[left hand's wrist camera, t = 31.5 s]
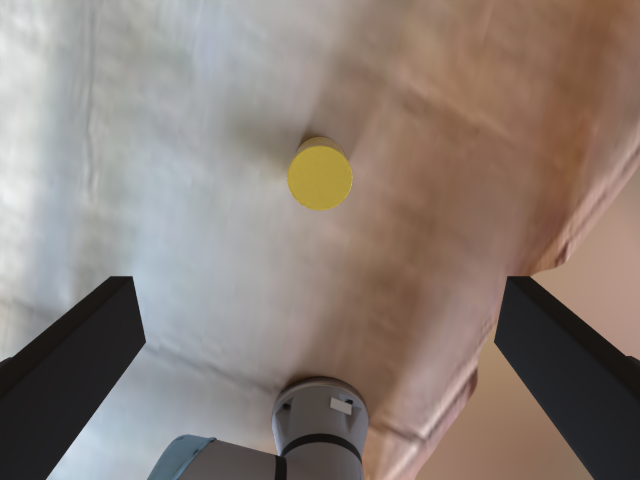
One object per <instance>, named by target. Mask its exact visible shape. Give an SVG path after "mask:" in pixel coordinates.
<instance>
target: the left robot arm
mask: <svg viewBox="0 0 640 480" xmlns="http://www.w3.org/2000/svg"><path fill="white" fill-rule="evenodd" d="M145 343H146V339H145V335H144V330H143V325H142V320H141V315H140V310H139V306H138V301H137V296H136V291H135V286H134V281H133V276H110V277H109V278H108V279H107V280H106V281H104V282H103V283H102V284H101V285H99V286H98V287H97V288H96V289H95V290H93V291H92V292H91V293H90V294H89V295H87V296H86V297H85V298H84V299H83V300H81V301H80V302H79V303H78V304H76V305H75V306H74V307H73V308H72V309H70V310H69V311H68V312H67V313H66V314H64V315H63V316H62V317H61V318H60V319H58V320H57V321H56V322H55V323H53V324H52V325H51V326H50V327H49V328H47V329H46V330H45V331H44V332H43V333H41V334H40V335H39V336H38V337H37V338H35V339H34V340H33V341H32V342H30V343H29V344H28V345H27V346H26V347H24V348H23V349H22V350H21V351H20V352H18V353H17V354H16V355H15V356H14V357H9V358H7V359H5V360H3V361H2V362H0V480H46V479H47V477H48V476H49V474H50V473H51V472H52V470H53V469H54V468H55V466H56V465H57V463H58V462H59V461H60V459H61V458H62V457H63V455H64V454H65V452H66V451H67V450H68V448H69V447H70V446H71V444H72V443H73V442H74V440H75V439H76V437H77V436H78V435H79V433H80V432H81V431H82V429H83V428H84V426H85V425H86V424H87V422H88V421H89V420H90V418H91V417H92V415H93V414H94V413H95V411H96V410H97V409H98V407H99V406H100V404H101V403H102V402H103V400H104V399H105V398H106V396H107V395H108V393H109V392H110V391H111V389H112V388H113V387H114V385H115V384H116V383H117V381H118V380H119V378H120V377H121V376H122V374H123V373H124V372H125V370H126V369H127V367H128V366H129V365H130V363H131V362H132V361H133V359H134V358H135V356H136V355H137V354H138V352H139V351H140V350H141V348H142V347H143V345H144V344H145ZM494 343H495V344H496V345H497V347H498V348H499V350H500V351H501V352H502V354H503V355H504V356H505V358H506V359H507V360H508V362H509V363H510V365H511V366H512V367H513V369H514V370H515V372H516V373H517V374H518V376H519V377H520V378H521V380H522V381H523V383H524V384H525V385H526V387H527V388H528V389H529V391H530V392H531V394H532V395H533V396H534V398H535V399H536V400H537V402H538V403H539V404H540V406H541V407H542V409H543V410H544V411H545V413H546V414H547V415H548V417H549V418H550V420H551V421H552V422H553V424H554V425H555V426H556V428H557V429H558V430H559V432H560V433H561V435H562V436H563V437H564V439H565V440H566V442H567V443H568V444H569V446H570V447H571V448H572V450H573V451H574V452H575V454H576V455H577V457H578V458H579V459H580V461H581V462H582V463H583V465H584V466H585V468H586V469H587V470H588V472H589V473H590V474H591V476H592V477H593V479H594V480H640V361H639V360H638V359H636V358H634V357H632V356H625V355H624V354H623V353H622V352H620V351H619V350H618V349H617V348H616V347H614V346H613V345H612V344H611V343H610V342H608V341H607V340H606V339H605V338H603V337H602V336H601V335H600V334H599V333H597V332H596V331H595V330H594V329H593V328H591V327H590V326H589V325H588V324H586V323H585V322H584V321H583V320H582V319H580V318H579V317H578V316H577V315H576V314H574V313H573V312H572V311H571V310H570V309H568V308H567V307H566V306H565V305H564V304H562V303H561V302H560V301H559V300H557V299H556V298H555V297H554V296H553V295H551V294H550V293H549V292H548V291H547V290H545V289H544V288H543V287H542V286H541V285H539V284H538V283H537V282H536V281H534V280H533V279H532V278H531V277H530V276H507V281H506V286H505V291H504V296H503V301H502V306H501V310H500V315H499V320H498V325H497V330H496V335H495V339H494ZM368 425H369V419H368V412H367V406H366V403H365V401H364V399H363V397H362V396H361V395H360V393H359V392H358V391H357V390H356V389H354V388H353V387H352V386H350V385H348V384H346V383H344V382H342V381H339V380H336V379H332V378H323V377H316V378H309V379H304V380H301V381H298V382H296V383H294V384H292V385H290V386H289V387H287V388H286V389H285V390H284V391H283V392H282V393H281V394H280V395H279V396H278V398H277V400H276V402H275V404H274V408H273V414H272V429H273V434H274V438H275V442H276V447H277V451H278V455H279V456H277V455H273V454H269V453H265V452H262V451H258V450H254V449H250V448H246V447H243V446H239V445H235V444H231V443H227V442H224V441H220V440H217V439H216V438H214V437H212V438H204V437H199V436H194V435H182V436H179V437H178V438H176V439H175V440H174V441H172V442H171V444H170V445H169V446H168V447H167V448H166V450H165V451H164V452H163V454H162V455H161V457H160V458H159V460H158V462H157V463H156V465H155V467H154V468H153V470H152V472H151V474H150V475H149V477H148V479H147V480H364V476H363V468H362V459H361V457H362V453H363V448H364V444H365V440H366V435H367V431H368Z"/></svg>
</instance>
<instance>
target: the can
mask: <svg viewBox="0 0 640 480" xmlns="http://www.w3.org/2000/svg"><path fill="white" fill-rule="evenodd" d="M287 180H288V186H289V189H290V192H291V194H292V195H293V197H294V198H295V199H296V200H297V201H298V202H299V203H300V204H301V205H303V206H305V207H307V208H309V209H313V210H327V209H331V208H333V207H335V206H337V205H338V204H340V203H341V202H342V201H343V200H344V199H345V198H346V196H347V195H348V193H349V191H350V189H351V185H352V171H351V167H350V165H349V163H348V161H347V158H346V156H345V154H344V152H343V150H342V149H341V147H340V146H339V145H338V144H337V143H336V142H335V141H333V140H332V139H330V138H327V137H313V138H310V139H308V140H306V141H305V142H304V143H302V144H301V146H300V147H299V148H298V150H297V152H296V154H295V156H294V158H293V160H292V162H291V164H290V167H289V170H288V175H287Z"/></svg>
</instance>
